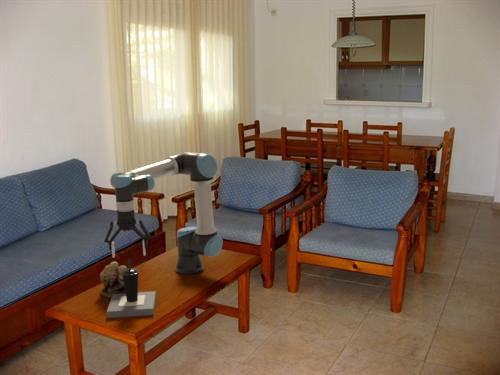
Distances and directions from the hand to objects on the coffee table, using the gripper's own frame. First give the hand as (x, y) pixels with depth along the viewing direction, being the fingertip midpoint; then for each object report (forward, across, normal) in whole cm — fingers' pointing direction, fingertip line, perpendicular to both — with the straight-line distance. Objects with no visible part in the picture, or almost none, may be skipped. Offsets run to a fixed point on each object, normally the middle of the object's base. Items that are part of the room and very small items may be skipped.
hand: (129, 255), depth 247 cm
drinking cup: (+21, 0, 0) cm, 21 cm away
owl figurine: (+25, -9, +17) cm, 31 cm away
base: (+25, 0, 0) cm, 25 cm away
